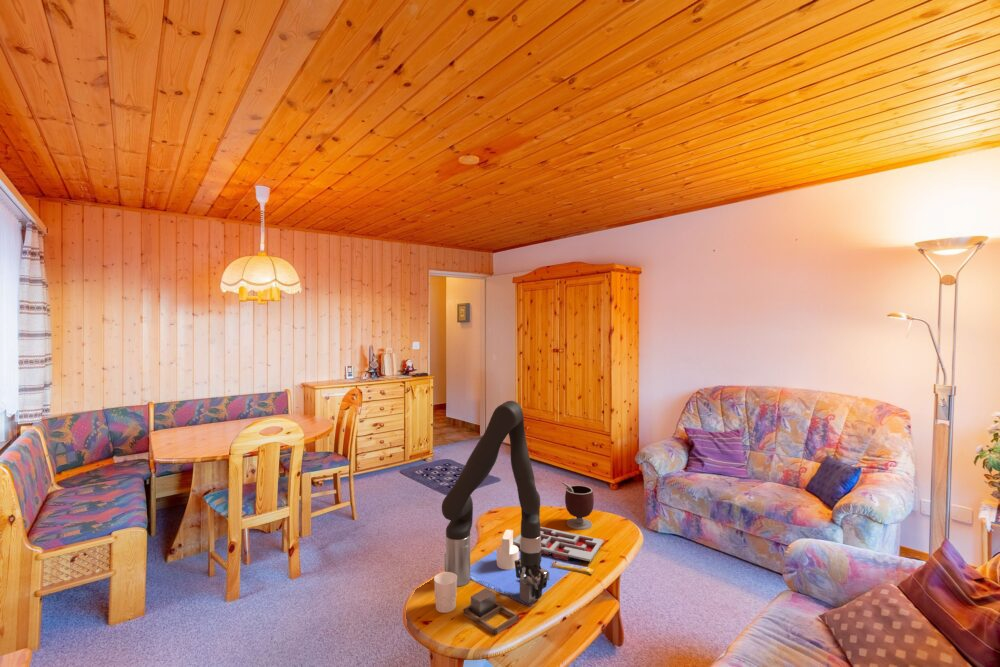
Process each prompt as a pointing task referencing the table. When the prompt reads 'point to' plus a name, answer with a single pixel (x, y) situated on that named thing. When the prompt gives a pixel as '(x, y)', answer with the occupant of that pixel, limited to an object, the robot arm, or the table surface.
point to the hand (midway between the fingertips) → (531, 594)
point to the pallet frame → (483, 619)
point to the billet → (527, 590)
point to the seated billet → (482, 602)
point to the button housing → (548, 573)
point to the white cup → (445, 591)
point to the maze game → (566, 544)
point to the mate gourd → (579, 505)
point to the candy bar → (573, 567)
